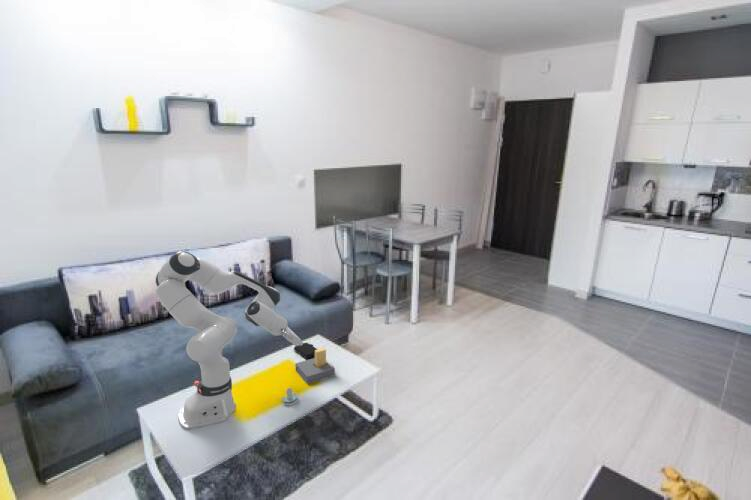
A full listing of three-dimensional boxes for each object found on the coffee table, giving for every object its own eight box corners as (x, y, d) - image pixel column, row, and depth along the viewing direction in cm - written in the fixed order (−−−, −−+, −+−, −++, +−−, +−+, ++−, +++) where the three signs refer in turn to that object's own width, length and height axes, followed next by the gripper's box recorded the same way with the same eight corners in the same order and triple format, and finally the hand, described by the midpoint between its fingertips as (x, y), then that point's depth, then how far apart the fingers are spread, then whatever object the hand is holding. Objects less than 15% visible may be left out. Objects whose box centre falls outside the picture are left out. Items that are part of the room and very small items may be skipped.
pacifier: (300, 402, 179) (295, 395, 184) (300, 390, 178) (295, 383, 182) (285, 408, 175) (280, 400, 180) (285, 396, 174) (279, 388, 178)
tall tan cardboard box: (316, 373, 202) (316, 352, 199) (314, 371, 204) (314, 350, 201) (325, 371, 205) (325, 349, 202) (323, 368, 207) (323, 347, 204)
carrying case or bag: (323, 354, 221) (308, 345, 231) (323, 349, 220) (308, 340, 231) (307, 361, 214) (292, 350, 224) (307, 356, 213) (292, 345, 224)
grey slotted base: (307, 384, 193) (307, 375, 192) (295, 370, 204) (295, 362, 203) (334, 375, 201) (334, 367, 200) (322, 362, 213) (322, 354, 211)
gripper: (291, 328, 178) (311, 343, 185) (274, 312, 194) (293, 326, 202) (281, 340, 176) (302, 354, 184) (265, 323, 193) (285, 336, 200)
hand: (297, 340), depth 193 cm, fingers open, 8 cm apart
